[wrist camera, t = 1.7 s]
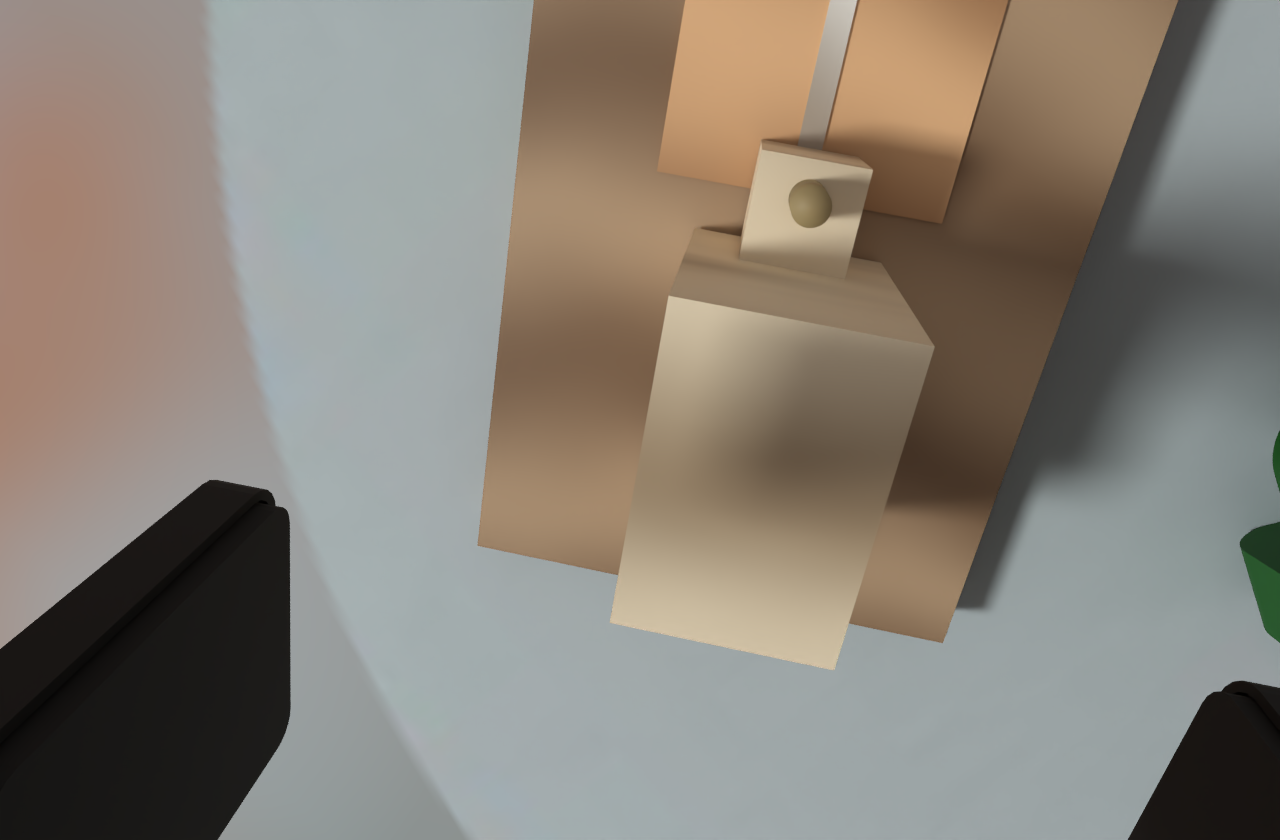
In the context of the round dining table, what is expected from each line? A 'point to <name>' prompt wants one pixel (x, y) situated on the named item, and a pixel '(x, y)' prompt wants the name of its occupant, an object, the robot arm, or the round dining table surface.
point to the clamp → (1266, 563)
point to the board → (887, 233)
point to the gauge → (772, 422)
